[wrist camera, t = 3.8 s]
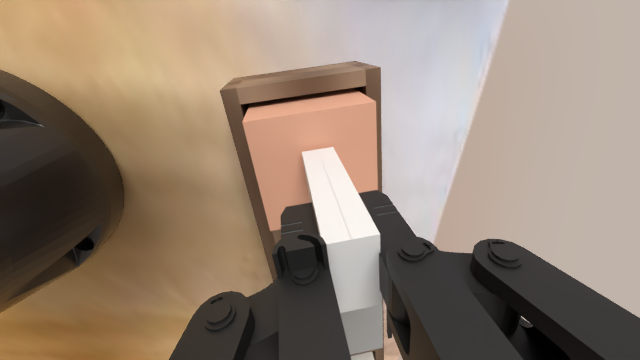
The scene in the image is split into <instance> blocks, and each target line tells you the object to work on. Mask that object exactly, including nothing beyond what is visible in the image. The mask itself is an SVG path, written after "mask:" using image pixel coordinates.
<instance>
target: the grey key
mask: <svg viewBox="0 0 640 360" xmlns="http://www.w3.org/2000/svg"><path fill="white" fill-rule="evenodd" d="M340 314H341V318H342V322H343V327H344V331H345V335H346V339H347V343H348V348H349V352H350V355H352V354H356V353H361V352H365V351H370V350H374V349H379V348H383V305H382V294H381V305H377V306H372V307H367V308H362V309H358V310H353V311H348V312H343V313H340Z"/></svg>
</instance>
